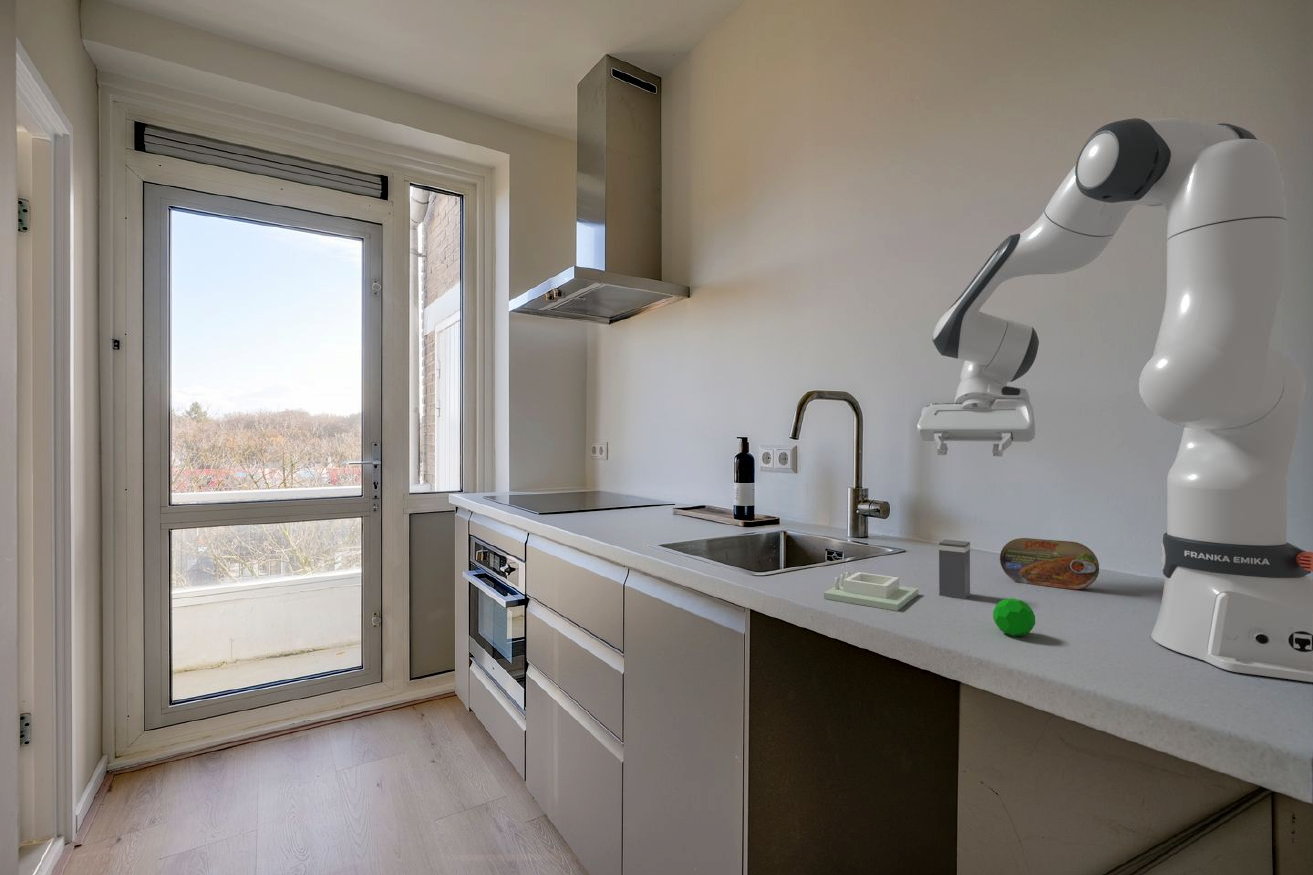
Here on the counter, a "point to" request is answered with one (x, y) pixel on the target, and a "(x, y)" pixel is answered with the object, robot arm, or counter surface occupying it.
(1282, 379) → the robot arm
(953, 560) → the dark grey tall block
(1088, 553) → the tin
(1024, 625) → the polyhedron
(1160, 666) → the counter surface
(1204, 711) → the counter surface
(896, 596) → the board
